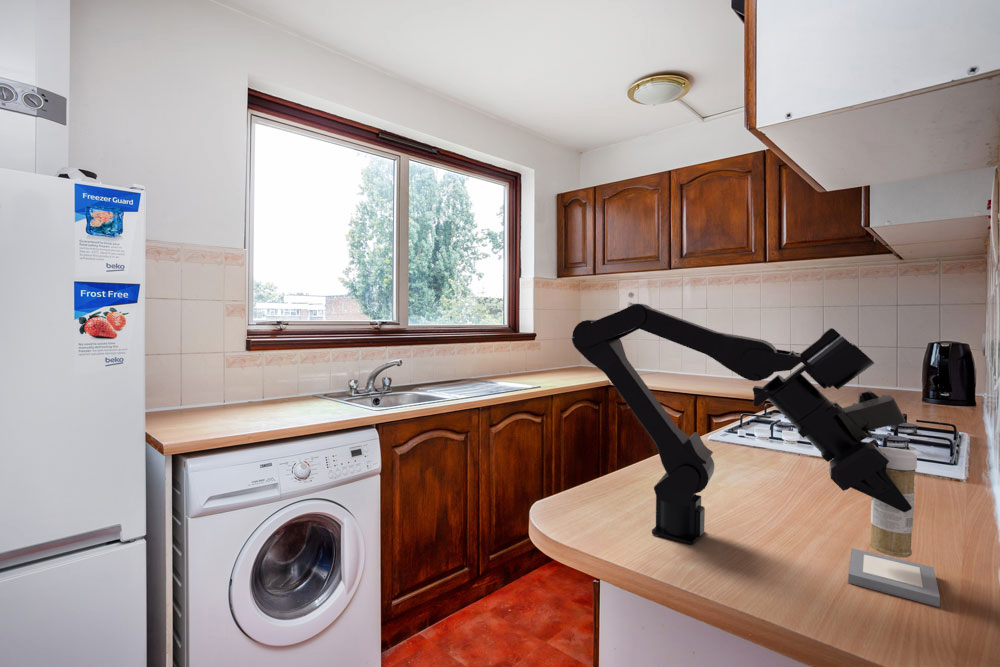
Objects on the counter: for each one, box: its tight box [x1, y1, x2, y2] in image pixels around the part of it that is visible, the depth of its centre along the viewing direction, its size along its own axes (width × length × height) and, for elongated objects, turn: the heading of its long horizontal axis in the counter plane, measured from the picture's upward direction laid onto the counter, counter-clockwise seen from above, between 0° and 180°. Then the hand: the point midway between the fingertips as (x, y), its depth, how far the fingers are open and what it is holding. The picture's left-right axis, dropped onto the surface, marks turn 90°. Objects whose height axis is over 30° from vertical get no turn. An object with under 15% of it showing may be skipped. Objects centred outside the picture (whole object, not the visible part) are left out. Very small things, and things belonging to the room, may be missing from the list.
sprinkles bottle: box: [868, 446, 918, 559], centre depth 66 cm, size 5×5×14 cm
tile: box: [847, 547, 941, 608], centre depth 66 cm, size 9×9×1 cm
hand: (905, 504), depth 65 cm, fingers closed on sprinkles bottle, 4 cm apart
